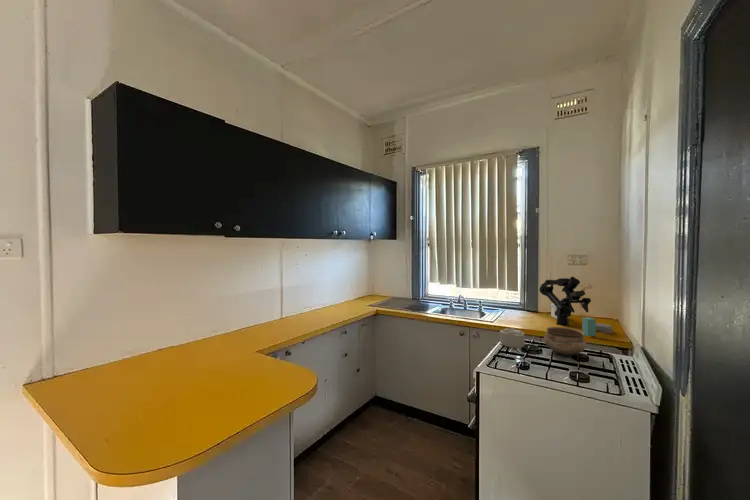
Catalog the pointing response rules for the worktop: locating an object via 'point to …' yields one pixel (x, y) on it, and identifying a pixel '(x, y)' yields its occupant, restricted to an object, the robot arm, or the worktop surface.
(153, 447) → the worktop surface
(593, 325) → the teal pillar block
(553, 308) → the light bulb box
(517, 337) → the lumpy-topped squat cylinder
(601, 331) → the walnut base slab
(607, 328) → the charcoal top slab
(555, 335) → the cooking pot
